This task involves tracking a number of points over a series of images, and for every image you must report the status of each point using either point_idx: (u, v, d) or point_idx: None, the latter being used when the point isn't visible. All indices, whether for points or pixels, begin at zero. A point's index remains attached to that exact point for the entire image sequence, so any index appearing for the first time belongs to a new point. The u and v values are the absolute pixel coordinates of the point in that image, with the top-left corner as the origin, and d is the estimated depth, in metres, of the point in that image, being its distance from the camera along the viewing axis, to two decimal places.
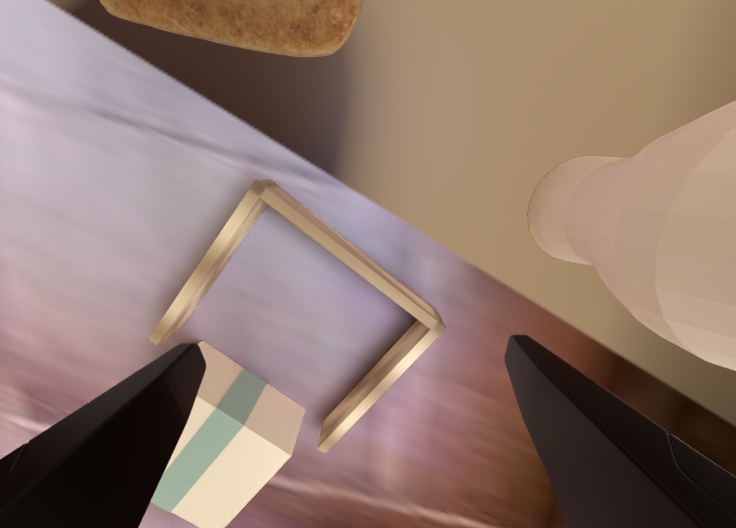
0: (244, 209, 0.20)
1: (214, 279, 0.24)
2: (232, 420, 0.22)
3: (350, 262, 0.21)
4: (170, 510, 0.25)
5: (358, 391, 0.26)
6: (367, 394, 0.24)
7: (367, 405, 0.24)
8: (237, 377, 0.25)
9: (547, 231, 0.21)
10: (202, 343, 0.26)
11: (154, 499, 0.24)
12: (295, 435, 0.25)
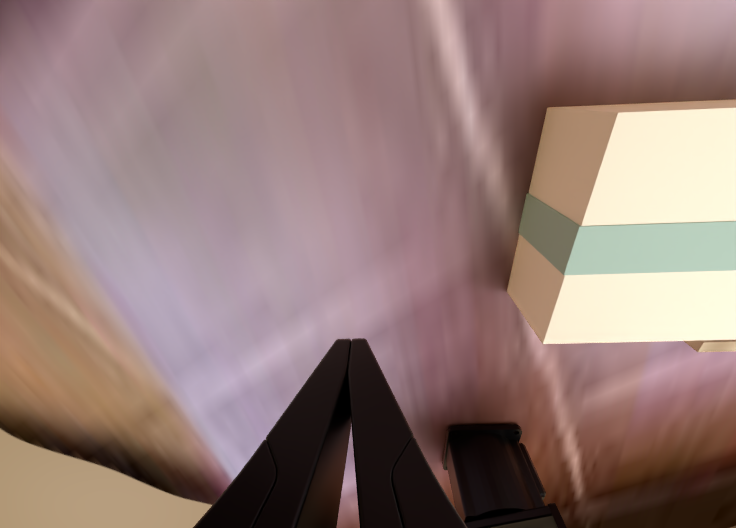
0: None
1: None
2: None
3: None
4: (570, 273, 0.14)
5: None
6: None
7: None
8: None
9: None
10: None
11: (583, 242, 0.13)
12: None
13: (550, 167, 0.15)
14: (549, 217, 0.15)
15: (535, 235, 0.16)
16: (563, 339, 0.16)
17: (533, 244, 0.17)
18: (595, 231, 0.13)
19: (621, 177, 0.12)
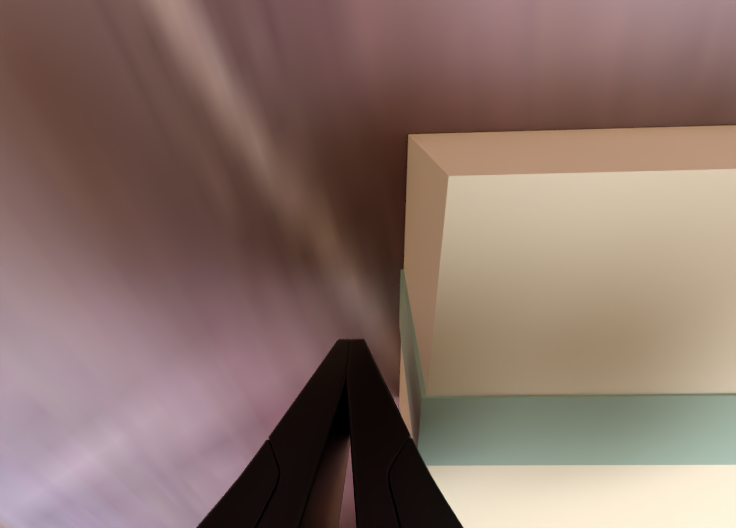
0: None
1: None
2: None
3: None
4: (427, 462, 0.07)
5: None
6: None
7: None
8: None
9: None
10: None
11: (439, 421, 0.06)
12: None
13: (411, 244, 0.08)
14: (409, 335, 0.08)
15: (404, 350, 0.10)
16: None
17: (404, 361, 0.10)
18: (459, 406, 0.06)
19: (492, 315, 0.05)
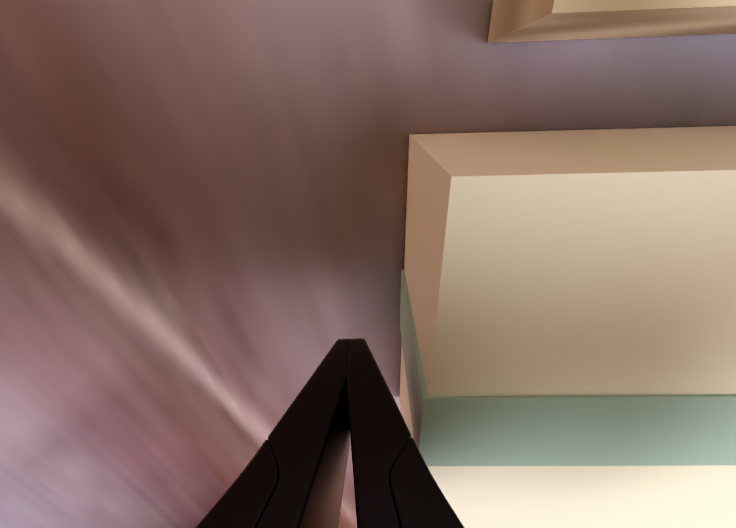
0: None
1: (731, 32, 0.07)
2: None
3: None
4: (428, 463, 0.07)
5: None
6: None
7: None
8: None
9: None
10: None
11: (440, 422, 0.06)
12: None
13: (412, 244, 0.08)
14: (409, 336, 0.08)
15: (405, 350, 0.09)
16: None
17: (404, 362, 0.10)
18: (460, 406, 0.06)
19: (494, 315, 0.05)
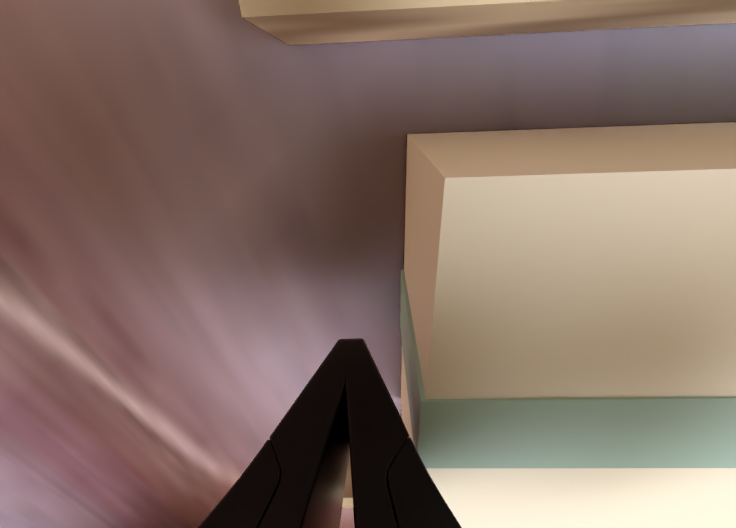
0: None
1: (525, 32, 0.07)
2: None
3: None
4: (427, 465, 0.07)
5: None
6: None
7: None
8: None
9: None
10: None
11: (439, 424, 0.06)
12: None
13: (410, 245, 0.08)
14: (409, 337, 0.08)
15: (404, 351, 0.09)
16: None
17: (404, 362, 0.10)
18: (458, 408, 0.06)
19: (491, 317, 0.05)
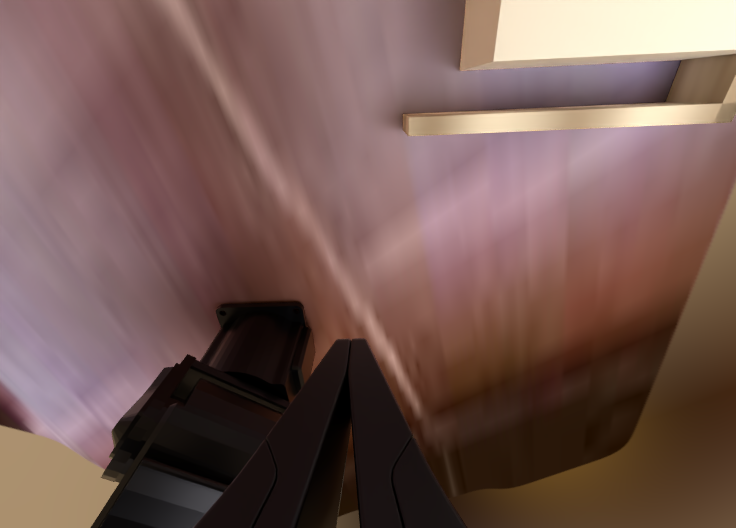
0: None
1: None
2: None
3: None
4: None
5: (511, 110, 0.15)
6: (552, 111, 0.14)
7: (536, 124, 0.14)
8: None
9: None
10: None
11: None
12: None
13: None
14: None
15: None
16: (521, 50, 0.11)
17: None
18: None
19: None
